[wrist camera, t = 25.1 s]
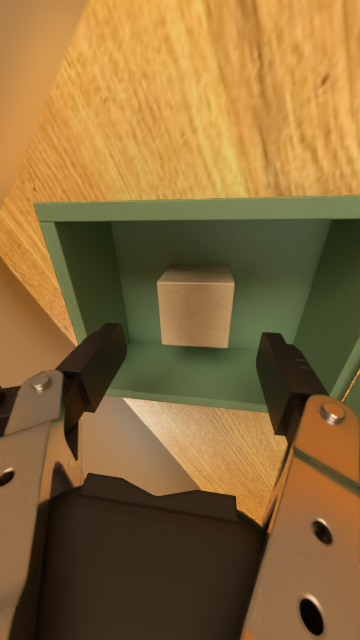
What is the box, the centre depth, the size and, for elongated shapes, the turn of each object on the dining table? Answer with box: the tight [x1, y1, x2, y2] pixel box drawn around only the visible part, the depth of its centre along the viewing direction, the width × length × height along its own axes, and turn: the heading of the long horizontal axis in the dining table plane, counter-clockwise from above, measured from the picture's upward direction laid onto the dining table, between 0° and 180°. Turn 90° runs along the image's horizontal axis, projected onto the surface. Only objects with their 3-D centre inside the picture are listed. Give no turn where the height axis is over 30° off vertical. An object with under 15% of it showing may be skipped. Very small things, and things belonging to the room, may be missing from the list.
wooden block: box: [157, 264, 235, 348], centre depth 14 cm, size 4×4×4 cm
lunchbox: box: [33, 195, 360, 413], centre depth 14 cm, size 17×13×7 cm
